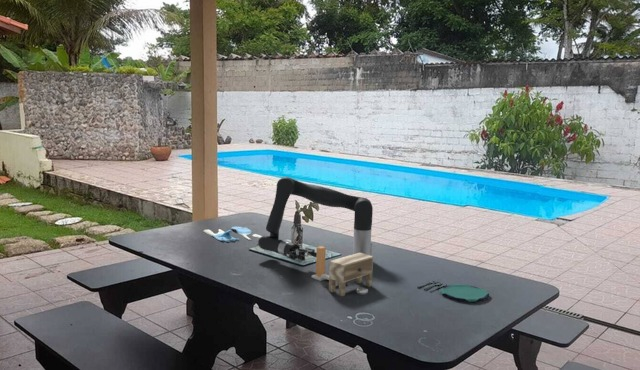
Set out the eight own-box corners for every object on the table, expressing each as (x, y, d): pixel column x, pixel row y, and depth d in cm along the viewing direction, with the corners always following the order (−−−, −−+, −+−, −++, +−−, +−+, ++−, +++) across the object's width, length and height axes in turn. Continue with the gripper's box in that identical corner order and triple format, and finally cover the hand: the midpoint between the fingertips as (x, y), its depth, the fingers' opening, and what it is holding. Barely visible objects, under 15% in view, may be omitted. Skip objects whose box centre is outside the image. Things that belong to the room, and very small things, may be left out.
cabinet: (328, 291, 239) (329, 260, 237) (358, 281, 253) (359, 252, 251) (344, 297, 232) (345, 265, 230) (374, 286, 246) (375, 257, 244)
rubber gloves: (242, 227, 354) (242, 218, 353) (266, 239, 327) (266, 228, 326) (203, 232, 339) (203, 222, 338) (224, 244, 312) (224, 234, 311)
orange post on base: (310, 277, 256) (310, 247, 254) (321, 274, 262) (322, 244, 259) (334, 286, 245) (335, 254, 243) (346, 282, 250) (347, 251, 248)
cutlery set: (474, 307, 225) (475, 302, 224) (413, 290, 245) (413, 285, 244) (495, 296, 239) (496, 291, 239) (436, 280, 259) (436, 276, 259)
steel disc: (362, 290, 242) (362, 286, 241) (370, 293, 238) (370, 289, 238) (354, 292, 239) (354, 288, 238) (361, 296, 235) (362, 292, 235)
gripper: (278, 244, 266) (300, 252, 255) (299, 240, 276) (321, 246, 265) (277, 259, 267) (299, 267, 256) (299, 254, 277) (321, 261, 266)
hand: (310, 256), depth 260 cm, fingers open, 8 cm apart
